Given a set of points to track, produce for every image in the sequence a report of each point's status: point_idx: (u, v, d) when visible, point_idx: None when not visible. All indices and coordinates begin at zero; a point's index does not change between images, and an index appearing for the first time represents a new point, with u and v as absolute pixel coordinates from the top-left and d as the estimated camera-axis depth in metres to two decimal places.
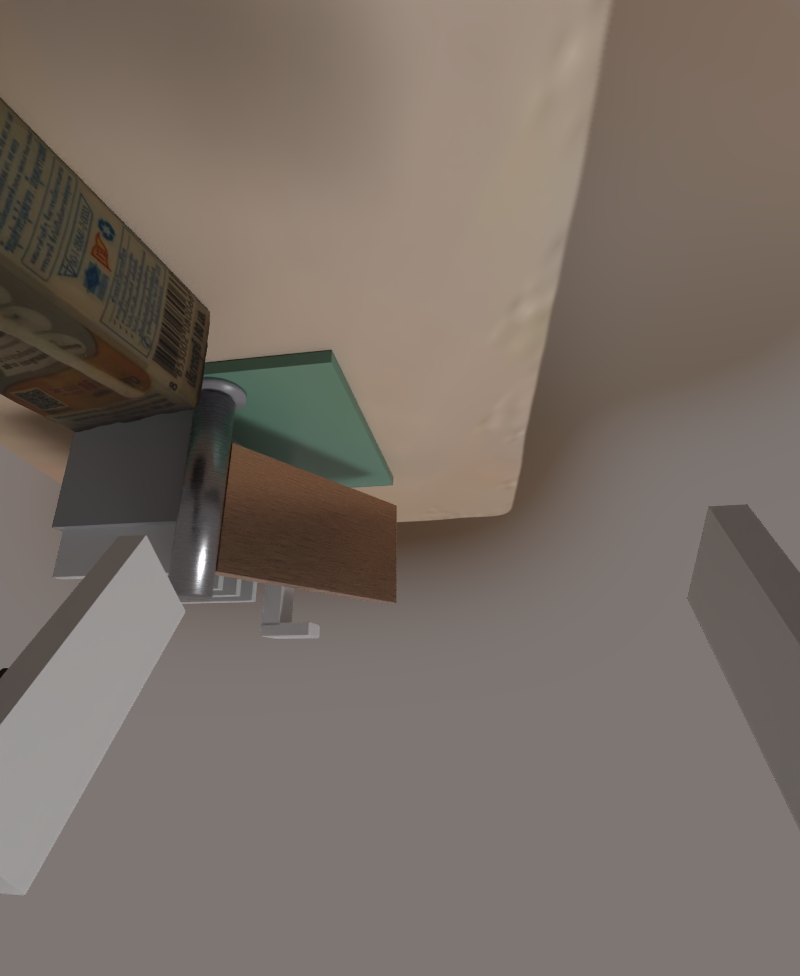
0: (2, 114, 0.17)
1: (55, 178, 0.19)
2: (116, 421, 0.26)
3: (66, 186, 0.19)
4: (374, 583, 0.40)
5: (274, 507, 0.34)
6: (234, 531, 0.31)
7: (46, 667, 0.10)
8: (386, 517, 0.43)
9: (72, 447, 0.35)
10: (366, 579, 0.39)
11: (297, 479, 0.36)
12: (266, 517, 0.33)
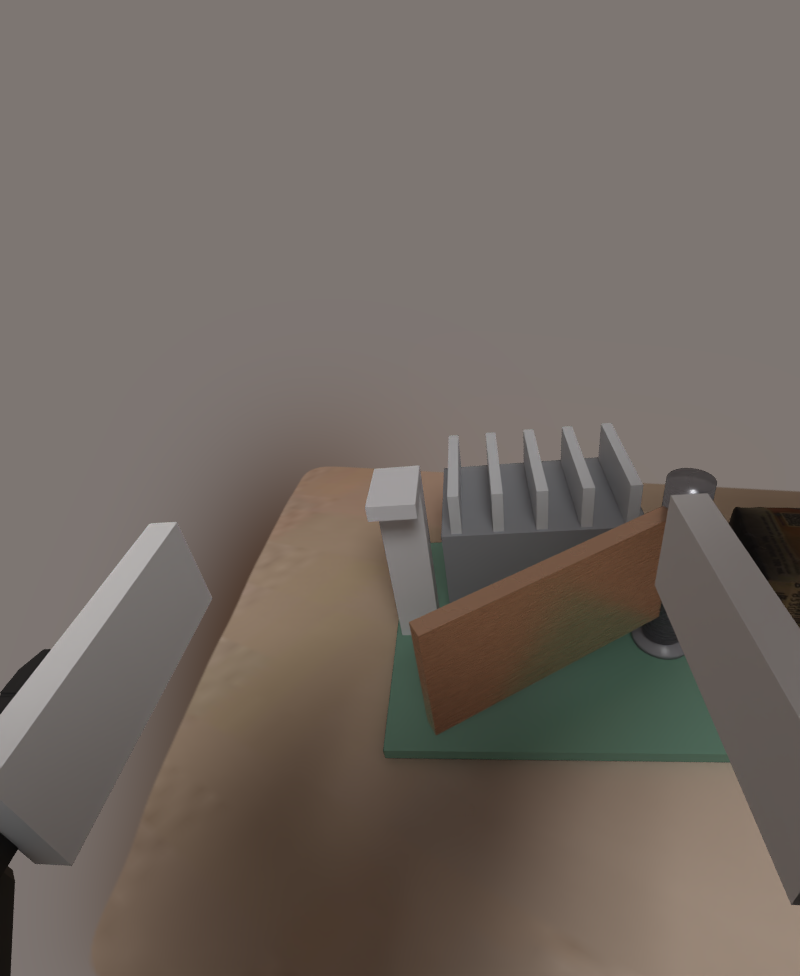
0: None
1: None
2: (749, 532, 0.35)
3: None
4: (468, 630, 0.26)
5: (619, 602, 0.30)
6: None
7: (89, 646, 0.10)
8: (455, 709, 0.28)
9: None
10: (484, 625, 0.26)
11: (592, 642, 0.31)
12: (628, 588, 0.30)
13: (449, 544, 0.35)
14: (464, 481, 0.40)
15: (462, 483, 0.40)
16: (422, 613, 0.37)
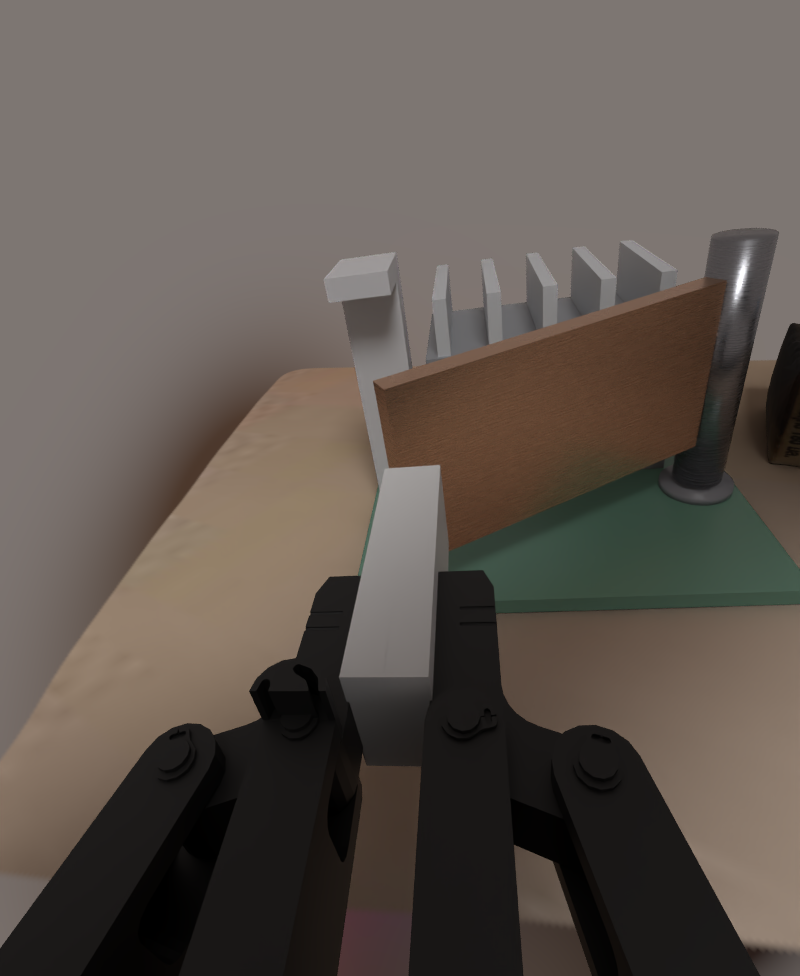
0: None
1: None
2: (798, 340, 0.31)
3: None
4: (453, 398, 0.19)
5: (648, 407, 0.24)
6: (702, 343, 0.23)
7: (399, 567, 0.11)
8: None
9: None
10: (475, 396, 0.19)
11: (614, 466, 0.25)
12: (660, 387, 0.23)
13: None
14: (456, 319, 0.33)
15: (453, 321, 0.33)
16: None
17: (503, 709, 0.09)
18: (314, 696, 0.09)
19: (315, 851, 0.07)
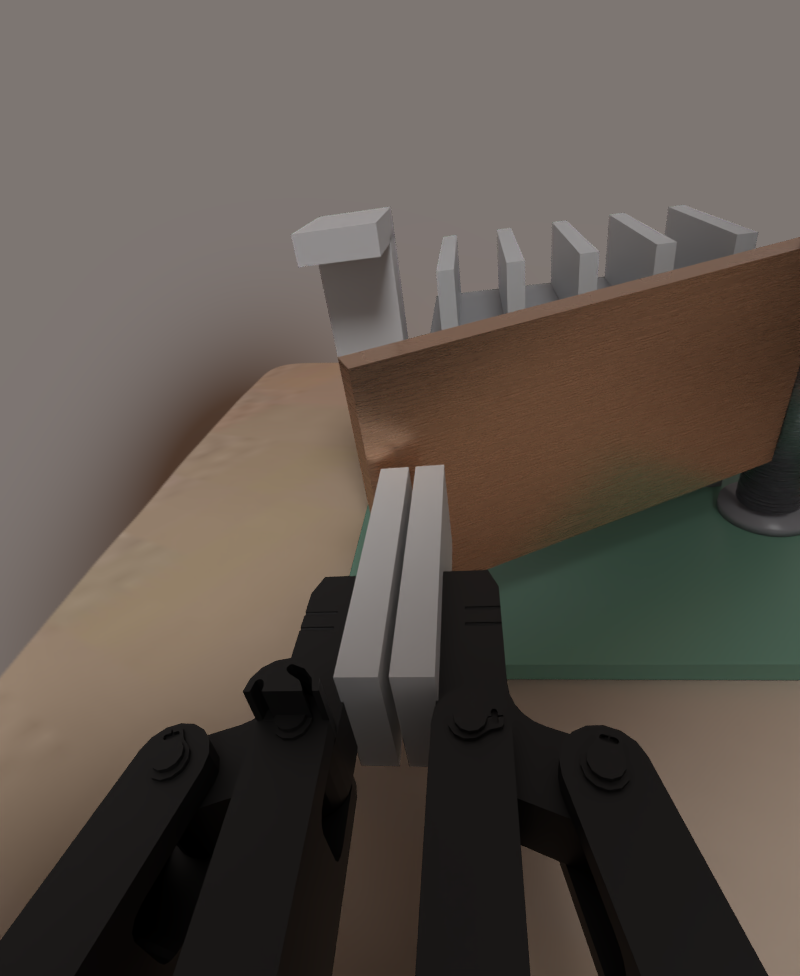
0: None
1: None
2: None
3: None
4: (449, 385, 0.14)
5: (716, 408, 0.18)
6: (794, 325, 0.17)
7: (394, 567, 0.11)
8: None
9: None
10: (480, 383, 0.14)
11: (665, 483, 0.19)
12: (733, 382, 0.18)
13: None
14: (465, 302, 0.28)
15: (462, 304, 0.27)
16: None
17: (510, 709, 0.09)
18: (308, 696, 0.09)
19: (309, 850, 0.07)
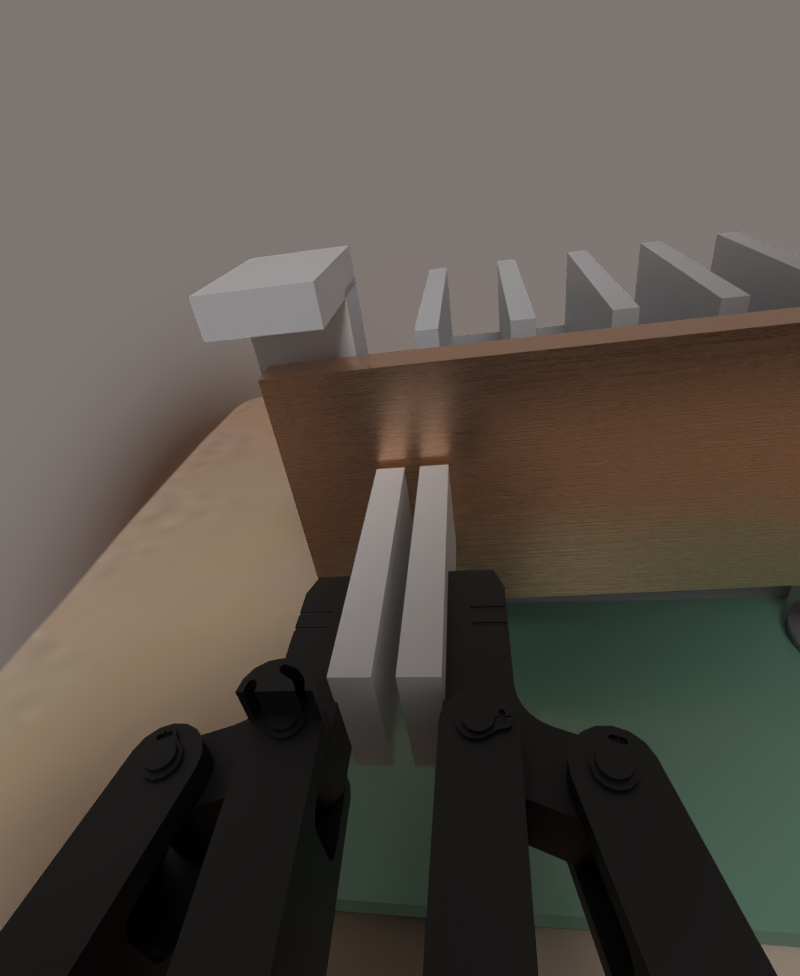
0: None
1: None
2: None
3: None
4: (367, 412, 0.13)
5: (747, 499, 0.14)
6: None
7: (389, 567, 0.11)
8: None
9: None
10: (403, 415, 0.13)
11: (666, 570, 0.16)
12: (777, 472, 0.14)
13: None
14: None
15: None
16: None
17: (517, 709, 0.09)
18: (301, 696, 0.09)
19: (302, 850, 0.07)
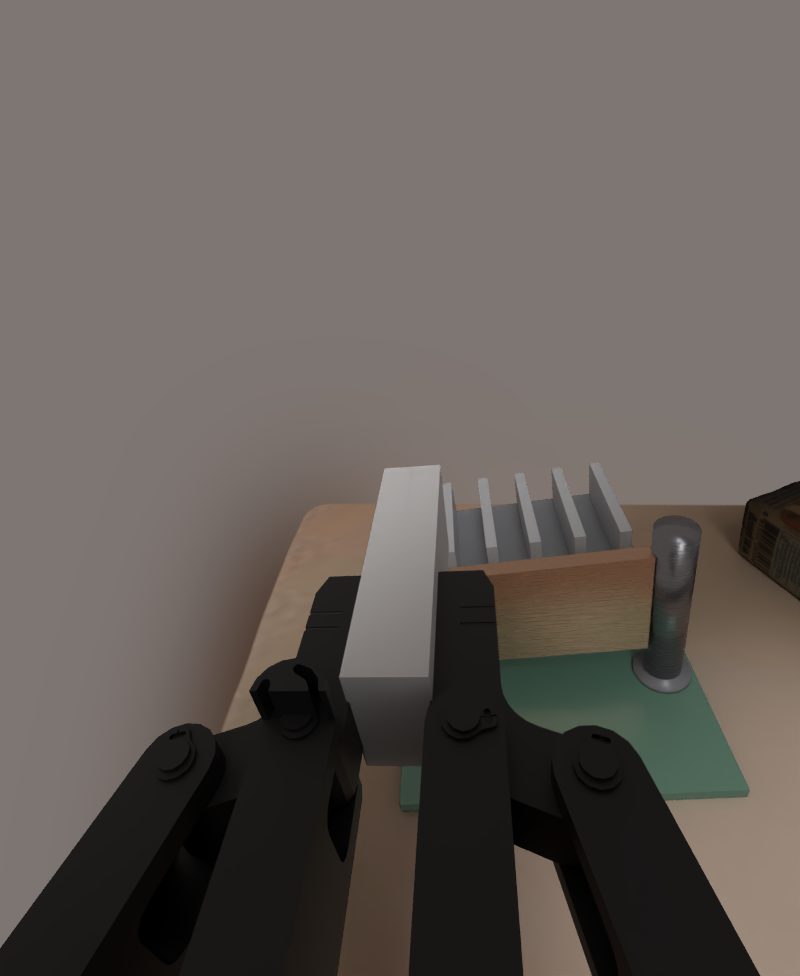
0: None
1: None
2: None
3: None
4: None
5: (591, 619, 0.33)
6: (638, 589, 0.32)
7: (399, 567, 0.11)
8: None
9: None
10: None
11: (564, 646, 0.35)
12: (600, 609, 0.33)
13: None
14: (461, 526, 0.41)
15: (458, 529, 0.41)
16: None
17: (503, 709, 0.09)
18: (314, 696, 0.09)
19: (315, 851, 0.07)
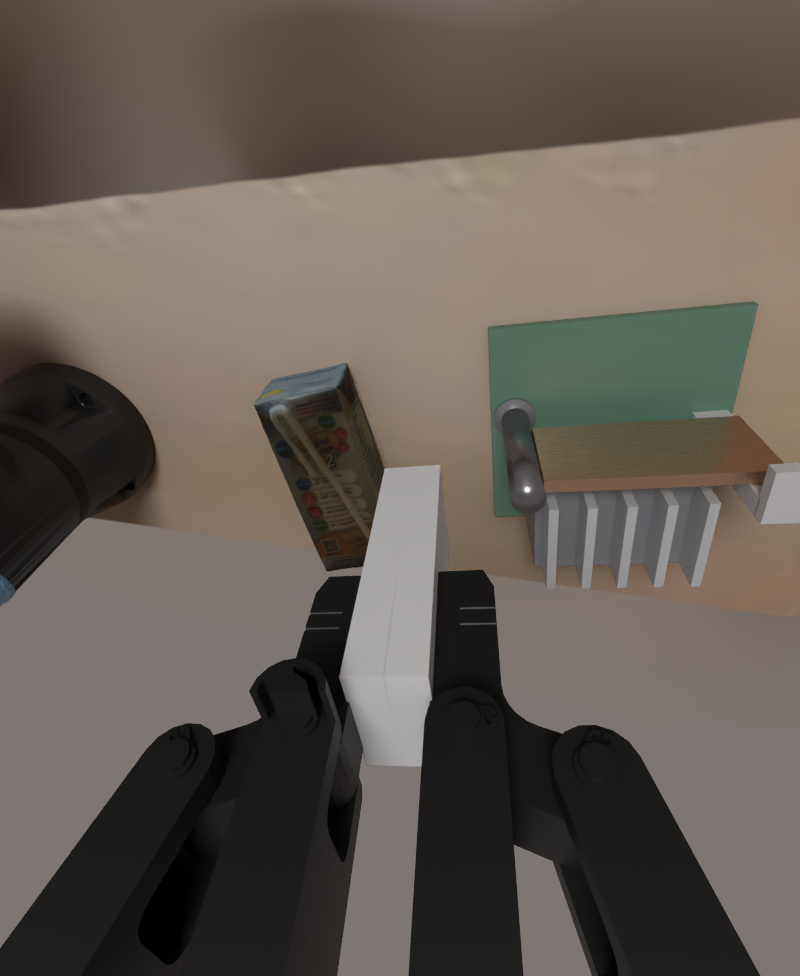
0: (373, 440, 0.50)
1: (379, 461, 0.50)
2: (352, 566, 0.52)
3: (380, 464, 0.51)
4: (740, 463, 0.36)
5: (583, 445, 0.41)
6: (551, 462, 0.39)
7: (399, 567, 0.11)
8: (728, 424, 0.40)
9: (528, 526, 0.50)
10: (725, 462, 0.36)
11: (600, 429, 0.42)
12: (578, 451, 0.40)
13: None
14: (678, 544, 0.43)
15: (680, 541, 0.43)
16: None
17: (503, 709, 0.09)
18: (314, 696, 0.09)
19: (315, 851, 0.07)
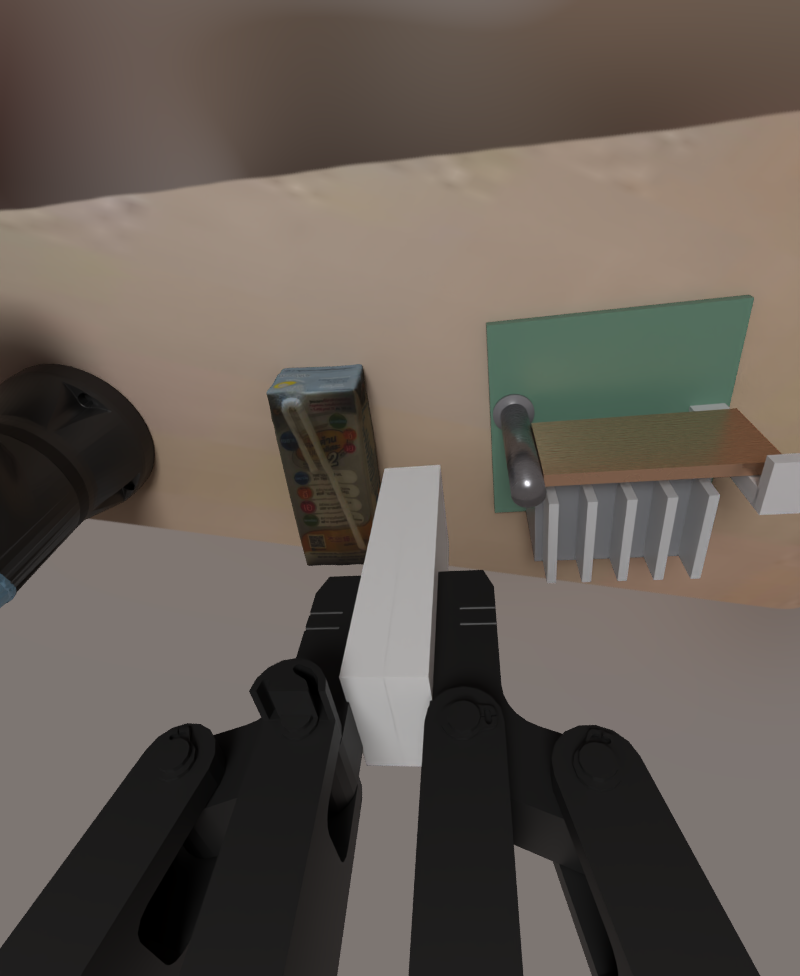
0: (374, 443, 0.50)
1: (376, 464, 0.51)
2: (334, 563, 0.53)
3: (377, 467, 0.51)
4: (739, 454, 0.36)
5: (582, 439, 0.41)
6: (550, 456, 0.39)
7: (399, 567, 0.11)
8: (725, 417, 0.41)
9: (528, 521, 0.50)
10: (724, 454, 0.37)
11: (599, 423, 0.42)
12: (577, 444, 0.40)
13: None
14: (677, 537, 0.43)
15: (680, 534, 0.43)
16: None
17: (503, 709, 0.09)
18: (314, 696, 0.09)
19: (315, 851, 0.07)
